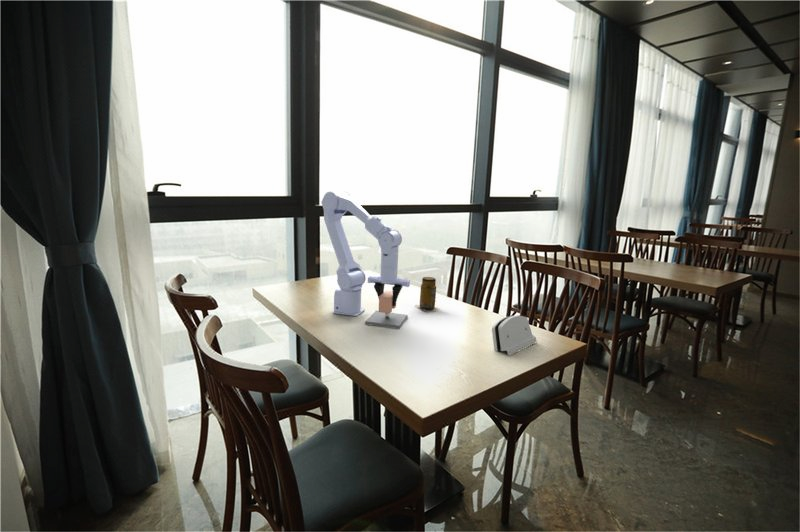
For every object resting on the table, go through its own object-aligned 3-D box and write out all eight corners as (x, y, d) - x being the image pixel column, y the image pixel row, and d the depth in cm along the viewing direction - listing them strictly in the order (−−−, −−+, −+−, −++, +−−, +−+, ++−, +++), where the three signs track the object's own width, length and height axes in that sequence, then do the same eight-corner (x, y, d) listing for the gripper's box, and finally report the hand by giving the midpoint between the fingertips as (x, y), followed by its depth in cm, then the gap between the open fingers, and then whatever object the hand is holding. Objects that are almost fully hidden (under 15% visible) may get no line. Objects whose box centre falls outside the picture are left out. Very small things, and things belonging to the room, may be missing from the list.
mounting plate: (364, 324, 129) (365, 321, 129) (375, 313, 140) (375, 310, 140) (399, 328, 126) (399, 325, 126) (407, 317, 137) (407, 314, 137)
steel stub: (384, 318, 132) (384, 312, 132) (385, 316, 134) (385, 310, 133) (388, 318, 132) (388, 312, 132) (389, 317, 134) (390, 311, 133)
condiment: (430, 304, 155) (432, 275, 153) (441, 310, 148) (443, 280, 145) (414, 306, 152) (416, 276, 149) (425, 312, 144) (427, 281, 142)
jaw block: (378, 312, 129) (379, 296, 128) (385, 305, 136) (385, 290, 135) (389, 313, 128) (390, 297, 127) (395, 306, 136) (396, 291, 134)
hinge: (508, 356, 109) (501, 321, 109) (494, 356, 112) (488, 322, 113) (537, 342, 120) (531, 311, 120) (524, 342, 123) (517, 312, 124)
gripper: (365, 266, 127) (364, 305, 130) (407, 270, 124) (405, 310, 127) (371, 262, 134) (370, 300, 137) (411, 266, 131) (410, 304, 133)
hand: (387, 304), depth 132 cm, fingers closed on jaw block, 4 cm apart
